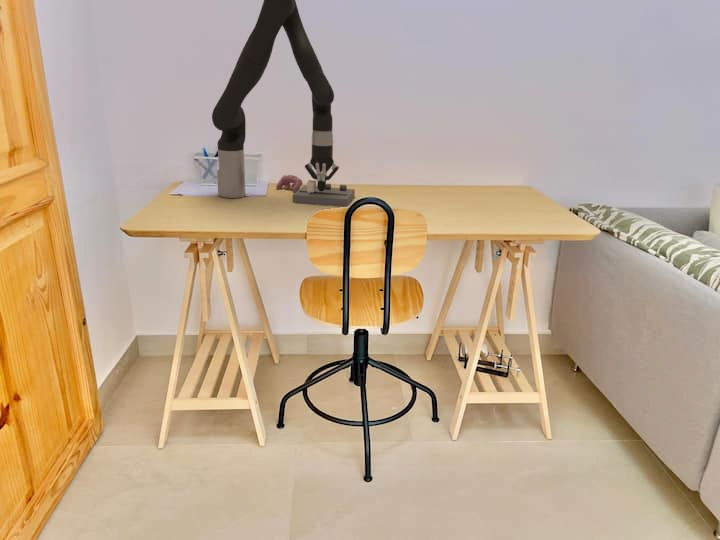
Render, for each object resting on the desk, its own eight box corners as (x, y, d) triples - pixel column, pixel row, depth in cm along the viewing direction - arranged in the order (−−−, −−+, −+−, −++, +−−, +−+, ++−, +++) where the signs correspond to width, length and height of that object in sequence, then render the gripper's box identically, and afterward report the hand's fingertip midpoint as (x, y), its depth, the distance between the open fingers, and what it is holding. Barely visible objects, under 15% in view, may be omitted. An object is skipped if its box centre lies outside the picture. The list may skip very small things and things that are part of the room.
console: (292, 202, 201) (292, 190, 199) (304, 192, 215) (304, 180, 213) (346, 206, 198) (347, 194, 196) (354, 196, 212) (354, 184, 211)
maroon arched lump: (300, 195, 217) (305, 178, 217) (294, 192, 213) (299, 175, 213) (281, 191, 221) (285, 175, 221) (274, 188, 217) (279, 171, 217)
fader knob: (306, 191, 202) (306, 181, 201) (309, 189, 206) (309, 179, 205) (313, 192, 202) (313, 182, 200) (316, 189, 206) (316, 179, 204)
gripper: (301, 143, 194) (301, 191, 201) (338, 146, 193) (337, 194, 199) (306, 140, 201) (306, 187, 208) (342, 142, 199) (341, 189, 206)
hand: (321, 190), depth 203 cm, fingers closed
